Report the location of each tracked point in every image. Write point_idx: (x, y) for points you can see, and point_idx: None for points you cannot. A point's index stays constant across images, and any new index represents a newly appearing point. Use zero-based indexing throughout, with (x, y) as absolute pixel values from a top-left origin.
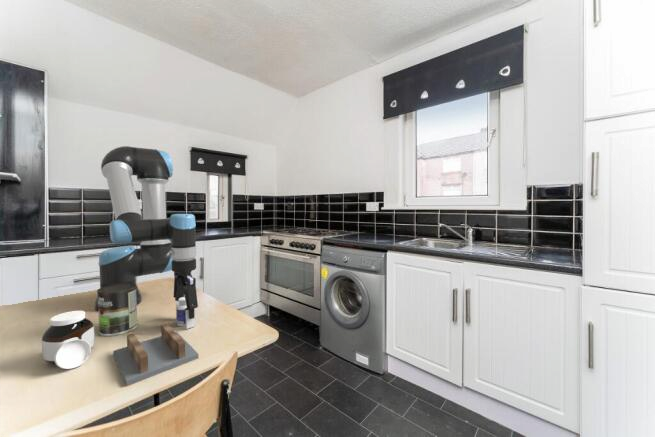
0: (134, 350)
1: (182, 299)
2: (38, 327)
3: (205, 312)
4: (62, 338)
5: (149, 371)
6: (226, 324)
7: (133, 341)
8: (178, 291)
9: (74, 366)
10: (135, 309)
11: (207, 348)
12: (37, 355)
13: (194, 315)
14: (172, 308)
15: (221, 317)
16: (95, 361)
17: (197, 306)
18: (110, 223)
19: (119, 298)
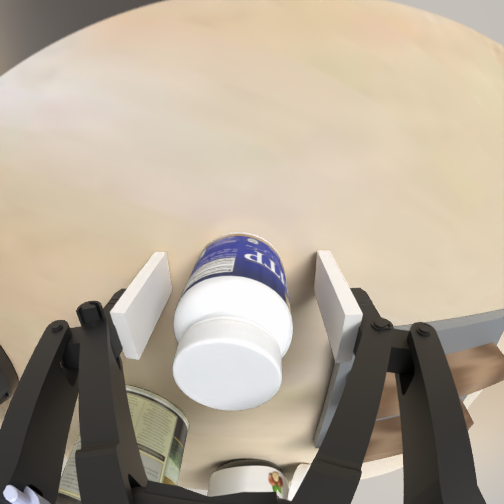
0: None
1: (240, 397)
2: (72, 449)
3: (154, 129)
4: None
5: (464, 396)
6: (419, 119)
7: (394, 453)
8: (132, 426)
9: (308, 468)
10: (138, 447)
11: (497, 276)
12: (202, 479)
13: (345, 285)
14: (25, 256)
15: (311, 83)
16: (311, 453)
17: (433, 330)
18: None
19: None
